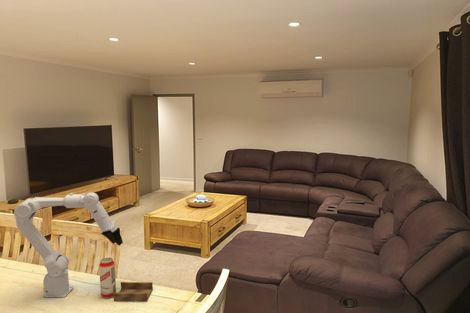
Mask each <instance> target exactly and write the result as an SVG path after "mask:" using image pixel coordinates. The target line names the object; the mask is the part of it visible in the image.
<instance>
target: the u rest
mask: <svg viewBox="0 0 470 313" xmlns="http://www.w3.org/2000/svg"><path fill="white" fill-rule="evenodd" d="M153 285H154V284H153V282H152V281H148V282H147V281H140V282H139V281H120V290H119V291H118V292H116V293H115V292H114V293H113V294H114V296H113V301H114V302H143V303H144V302H146V303H148V301H149V298H150V296H151V294H152V291H153V287H154V286H153Z"/></svg>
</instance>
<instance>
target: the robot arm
mask: <svg viewBox="0 0 470 313" xmlns="http://www.w3.org/2000/svg"><path fill="white" fill-rule="evenodd" d="M99 199H100V198H99V195H98V194H97V193H96V192H93V191H92V192H91V191H89V192H87V193H86V192H83V193H77V194H76V193H75V194H74V192H70V193H69V194H66V196H64V197H42V196H35V197H28V198H27V199H25V200H24V201H23V202H21V203H19V204H18V205H16V207H15V209H14V211H13V216H14V217H15V224H16V227H17V229H18V231H19V232H21V234H22V235H23V236H24V237H25V238H26V239H27V241H28V242H29V244H31V246H32V247H33V248H34V249H35V251H36V252H37V253H38V255H40V256H41V258H42V259H43V263H44V264H43V265H44V267H45V268H46V274H45V275H44V277H43V283H42V284H43V293H44V294H43V297H44V298H65V297H66V296H68V294H69V293H70V292H72V290H73V289H74V286H70V281H69V280H70V279H69V269H68V268H67V267H68V265H69V262H70V260H69V258H68V257H67V255H64V254H63V253H61V251H59V250H56V249H54V247H53V246H52V245H51V243H50V242H49V241H48V240H47V239H46V237H45V236H44V235H43V234H42V232H41V231H40V230H39V229H38V228H37V226H36V225H35V224H34V222H33V220H34V217H35V215H36V213H37V211H40V210H41V209H42V208H46V207H49V208H50V207H58V206H59V207H60V206H64V207H65V208H66V209H75V208H76V209H78V208H79V209H80V208H84V209H86V210H88V212H89V213H90V215H91V216H92V218H93V219H94V221H95V223H96V224H97V226H98V227H99V229H100V231H101V233H100V235H102V236H104V237H105V238H106V239H108V240H109V242H111V244H113V245H114V244H116V245H117V246H121V245H122V244H124V241H123V238H122V236H121V228H120V227H117V228H116V226H115V224H116V223H117V221H116V220H112V218H111V217H110V215H109V213H108V212H107V211H106V209H105V207H104V205H103V204H102V203H101V202H100V201H99Z"/></svg>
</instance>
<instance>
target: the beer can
mask: <svg viewBox="0 0 470 313" xmlns="http://www.w3.org/2000/svg"><path fill="white" fill-rule="evenodd" d="M98 266H99V268H98V269H99V284H100V287H99V288H100V295H101V297H103V298H104V299H110V298H112V297H113V298H114V294H113V293H114V292H115V293H117V284H116V283H117V281H116V267H115V266H116V264H115V262H114V259H113V258H112V257H104V258H102V259H100V262H99V264H98Z"/></svg>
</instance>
